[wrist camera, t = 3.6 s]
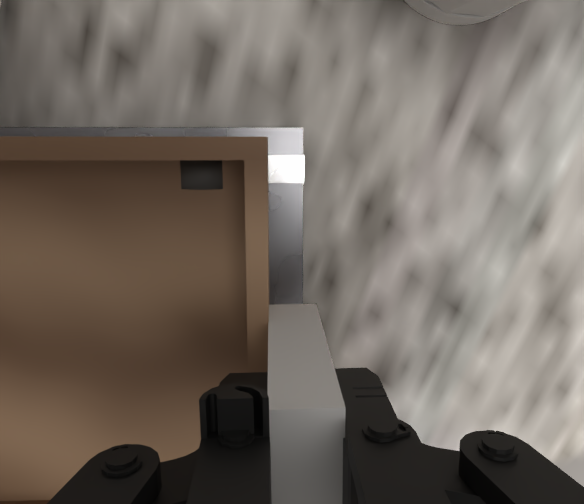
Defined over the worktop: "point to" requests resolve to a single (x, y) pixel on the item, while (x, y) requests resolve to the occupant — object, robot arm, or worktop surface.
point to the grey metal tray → (281, 188)
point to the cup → (461, 10)
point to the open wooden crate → (123, 295)
